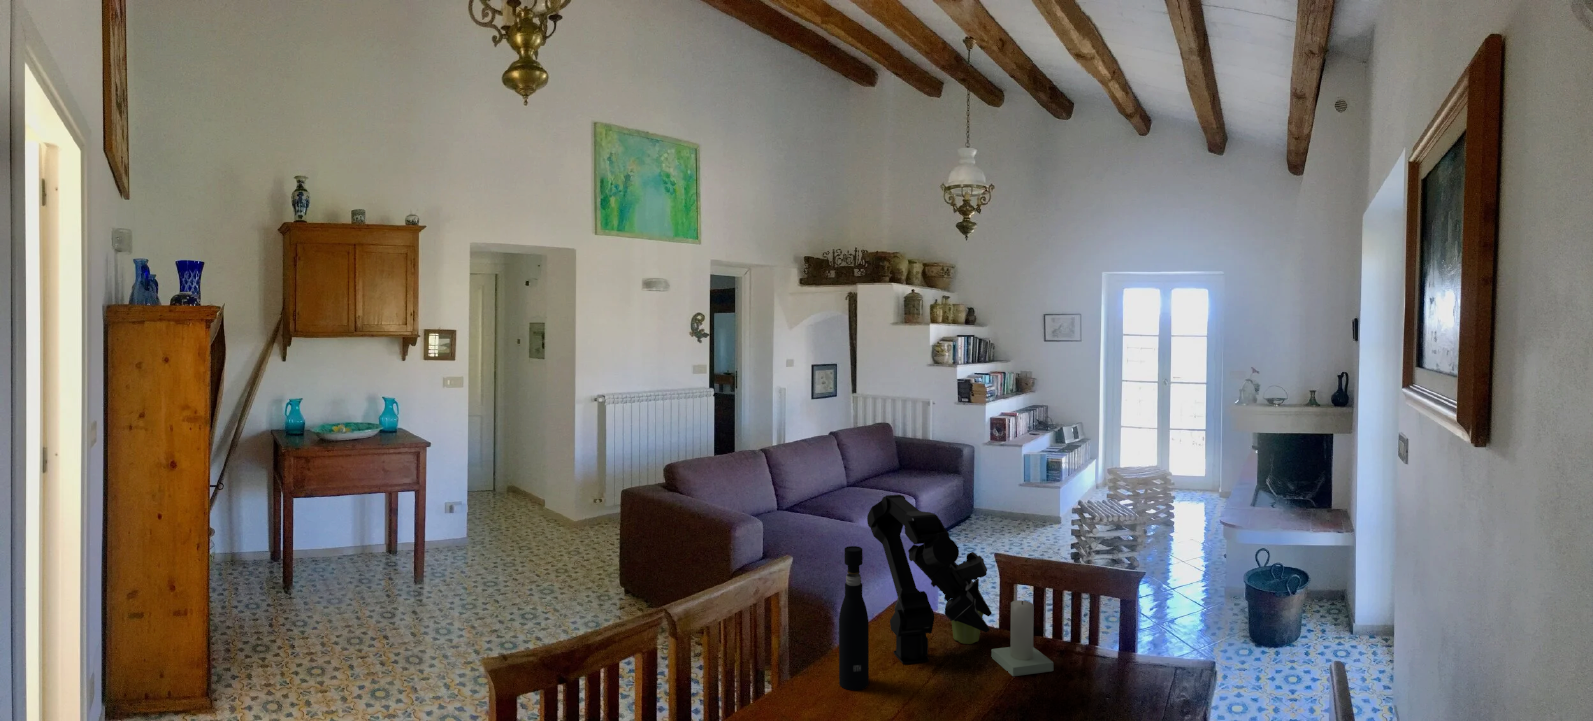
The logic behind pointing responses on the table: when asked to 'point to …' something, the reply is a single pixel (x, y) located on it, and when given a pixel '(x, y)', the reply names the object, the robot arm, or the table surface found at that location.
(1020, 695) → the table surface
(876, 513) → the robot arm
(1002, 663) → the stand
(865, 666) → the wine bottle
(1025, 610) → the candle
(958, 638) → the plant pot
